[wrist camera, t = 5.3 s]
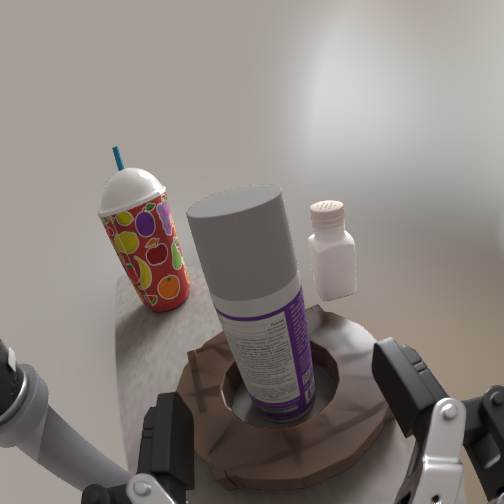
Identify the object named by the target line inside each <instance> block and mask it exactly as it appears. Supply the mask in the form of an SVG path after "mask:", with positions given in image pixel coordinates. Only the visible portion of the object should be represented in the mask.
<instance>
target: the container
mask: <svg viewBox="0 0 504 504" xmlns="http://www.w3.org/2000/svg"><path fill="white" fill-rule="evenodd" d="M186 215H187V218H188V222H189V225H190V229H191V232H192V235H193V239H194V242H195V246H196V249H197V253H198V256H199V259H200V262H201V266H202V269H203V272H204V275H205V278H206V282H207V285H208V288H209V291H210V294H211V297H212V300H213V304H214V306H215V309H216V312H217V315H218V317H219V320H220V323H221V325H222V328H223V330H224V333H225V336H226V338H227V341H228V343H229V346H230V349H231V351H232V354H233V356H234V359H235V361H236V364H237V366H238V369H239V371H240V374H241V376H242V378H243V381H244V383H245V386H246V388H247V390H248V393H249V395H250V397H251V400H252V402H253V404H254V407H255V409H256V411H257V412H258V413H259V415H260V416H262V417H263V418H264V419H266V420H269V421H272V422H276V423H286V422H291V421H294V420H297V419H299V418H301V417H302V416H304V415H305V414H306V413H307V412H308V411H309V410H310V409H311V408H312V406H313V404H314V402H315V397H316V393H315V383H314V374H313V365H312V357H311V349H310V341H309V334H308V326H307V319H306V312H305V305H304V298H303V292H302V285H301V279H300V274H299V269H298V264H297V259H296V254H295V249H294V244H293V239H292V234H291V229H290V225H289V220H288V216H287V211H286V206H285V202H284V197H283V193H282V189H281V188H280V187H279V186H276V185H268V184H261V185H249V186H244V187H238V188H234V189H230V190H226V191H223V192H220V193H217V194H214V195H211V196H209V197H206V198H204V199H202V200H200V201H198V202H196V203H195V204H193V205H192V206H191V207H190V208H189V209H188V210H187V212H186Z"/></svg>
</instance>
